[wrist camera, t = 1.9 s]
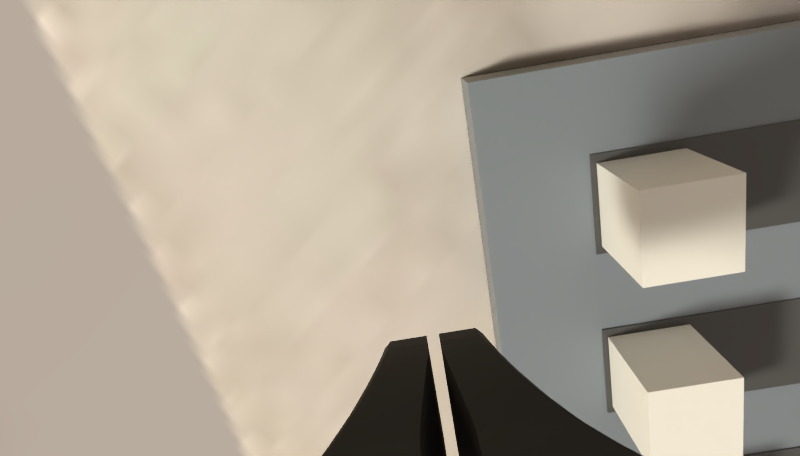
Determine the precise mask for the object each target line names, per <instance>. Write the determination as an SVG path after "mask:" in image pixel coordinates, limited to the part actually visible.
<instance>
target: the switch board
mask: <svg viewBox="0 0 800 456" xmlns="http://www.w3.org/2000/svg"><path fill="white" fill-rule="evenodd" d="M461 82H462V89H463V97H464V104H465V112H466V120H467V127H468V135H469V143H470V150H471V158H472V165H473V173H474V181H475V188H476V196H477V204H478V211H479V219H480V226H481V234H482V242H483V249H484V257H485V264H486V272H487V280H488V287H489V295H490V303H491V310H492V318H493V325H494V333H495V341H496V348H497V350H498V351H499V352H500V353H501V354H502V355H503V356H504V357H505V358H506V359H507V360H508V361H509V362H510V363H511V364H512V365H513V366H514V367H515V368H516V369H517V370H518V371H519V372H521V373H522V374H523V375H524V376H525V377H526V378H528V379H529V380H530V381H531V382H532V383H533V384H534V385H536V386H537V387H538V388H539V389H540V390H542V391H543V392H544V393H545V394H546V395H548V396H549V397H550V398H551V399H553V400H554V401H555V402H557V403H558V404H559V405H561V406H562V407H563V408H565V409H566V410H567V411H569V412H570V413H572V414H573V415H574V416H576V417H577V418H579V419H580V420H582V421H583V422H585V423H586V424H588V425H590V426H591V427H593V428H595V429H596V430H598V431H600V432H601V433H603V434H605V435H606V436H608V437H610V438H611V439H613V440H615V441H616V442H618V443H620V444H622V445H623V446H625V447H627V448H629V449H631V450H633V451H635V452H637V453H639V454H641V453H640V451H639V450H638V448H637V446H636V444H635V443H634V441H633V439H632V438H631V436H630V434H629V433H628V431H627V429H626V428H625V426H624V424H623V423H622V421H621V419H620V418H619V416H618V414H617V413H616V411H615V409H614V408H613V403H612V388H611V373H610V358H609V343H608V337H613V336H619V335H625V334H631V333H638V332H644V331H650V330H657V329H663V328H669V327H676V326H682V325H688V324H690V325H691V326H692V327H693V328H694V329H695V330H696V331H697V332H698V333H699V334H700V335H701V336H702V337H703V338H704V339H705V340H706V341H707V342H708V343H709V344H710V345H711V346H712V347H713V348H714V349H715V350H716V351H718V352H719V353H720V354H721V355H722V356H723V357H724V358H725V359H726V360H727V361H728V362H729V363H730V364H731V365H732V366H733V367H734V368H735V369H736V370H737V371H738V372H739V373H740V374H741V375H742V376H743V377H744V421H743V456H800V20H796V21H791V22H785V23H779V24H773V25H767V26H761V27H756V28H750V29H744V30H738V31H732V32H727V33H721V34H715V35H709V36H703V37H697V38H692V39H686V40H680V41H674V42H668V43H662V44H657V45H651V46H645V47H639V48H633V49H627V50H622V51H616V52H610V53H604V54H598V55H592V56H587V57H581V58H575V59H569V60H563V61H557V62H552V63H546V64H540V65H534V66H528V67H522V68H517V69H511V70H505V71H499V72H493V73H488V74H482V75H476V76H470V77H464V78H461ZM684 148H687V149H690V150H692V151H695V152H697V153H699V154H702V155H704V156H707V157H709V158H712V159H714V160H716V161H719V162H721V163H724V164H726V165H728V166H731V167H733V168H736V169H738V170H740V171H743V172H745V173H746V247H745V272H740V273H734V274H728V275H722V276H716V277H709V278H703V279H697V280H691V281H684V282H678V283H672V284H666V285H660V286H653V287H647V288H642V287H641V286H640V285H639V284H638V283H637V282H636V281H635V280H634V278H633V277H632V276H631V275H630V274H629V273H628V272H627V271H626V270H625V269H624V268H623V267H622V266H621V265H620V264H619V263H618V262H617V261H616V260H615V259H614V258H613V257H612V256H611V255H610V254H609V253H608V252H607V251H606V250H605V249H604V248H603V247H602V238H601V223H600V208H599V193H598V177H597V163H600V162H606V161H612V160H618V159H624V158H630V157H636V156H642V155H648V154H654V153H660V152H666V151H672V150H678V149H684Z"/></svg>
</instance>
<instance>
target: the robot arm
mask: <svg viewBox="0 0 800 456" xmlns="http://www.w3.org/2000/svg"><path fill="white" fill-rule="evenodd" d="M439 337H440V343H441V349H442V355H443V361H444V367H445V373H446V380H447V386H448V392H449V398H450V404H451V410H452V416H453V423H454V429H455V435H456V441H457V447H458V452H459V456H643V455H641V454H639V453H637V452H635V451H633V450H631V449H629V448H627V447H625V446H623V445H622V444H620V443H618V442H616V441H615V440H613V439H611V438H610V437H608V436H606V435H605V434H603V433H601V432H600V431H598V430H596V429H595V428H593V427H591V426H590V425H588V424H586V423H585V422H583V421H582V420H580V419H579V418H577V417H576V416H574V415H573V414H572V413H570V412H569V411H567V410H566V409H565V408H563V407H562V406H561V405H559V404H558V403H557V402H555V401H554V400H553V399H551V398H550V397H549V396H548V395H546V394H545V393H544V392H543V391H542V390H540V389H539V388H538V387H537V386H536V385H534V384H533V383H532V382H531V381H530V380H529V379H528V378H526V377H525V376H524V375H523V374H522V373H521V372H519V371H518V370H517V369H516V368H515V367H514V366H513V365H512V364H511V363H510V362H509V361H508V360H507V359H506V358H505V357H504V356H503V355H502V354H501V353H500V352H499V351H498V350H497V349H496V348H495V347H494V346H493V345H492V344H491V343H490V342H489V341H488V339H487V338H486V337H485V336H484V335H483V333H481V332H480V331H479V330H477V329H476V328H473V329H466V330H460V331H454V332H448V333H441V334H439ZM322 456H446V450H445V443H444V437H443V431H442V425H441V419H440V413H439V407H438V401H437V396H436V390H435V384H434V378H433V372H432V366H431V360H430V355H429V349H428V343H427V337H426V336H423V337H417V338H410V339H404V340H398V341H392V342H390V343H389V344H388V346H387V347H386V348H385V350H384V353H383V355H382V357H381V359H380V362H379V364H378V366H377V368H376V370H375V372H374V374H373V376H372V378H371V380H370V382H369V383H368V385H367V387H366V389H365V391H364V392H363V394H362V396H361V397H360V399H359V401H358V403H357V404H356V406H355V408H354V410H353V411H352V413H351V414H350V416H349V418H348V419H347V420H346V422H345V423H344V425H343V426H342V428H341V429H340V431H339V432H338V434H337V435H336V437H335V438H334V440H333V441H332V442H331V444H330V445H329V447H328V448H327V450H326V451H325V452H324V454H323V455H322Z"/></svg>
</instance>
